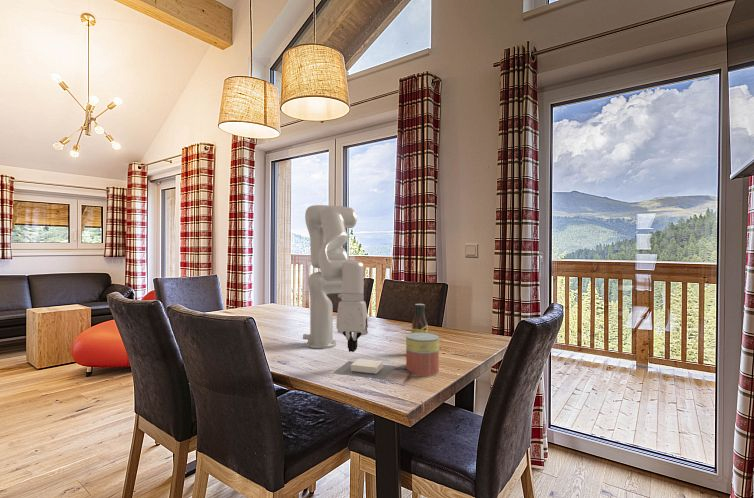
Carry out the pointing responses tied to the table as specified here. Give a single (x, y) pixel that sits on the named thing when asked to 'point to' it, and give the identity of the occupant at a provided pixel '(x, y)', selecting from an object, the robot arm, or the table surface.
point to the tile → (367, 366)
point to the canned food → (422, 354)
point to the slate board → (380, 375)
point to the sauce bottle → (419, 320)
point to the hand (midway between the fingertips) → (352, 350)
